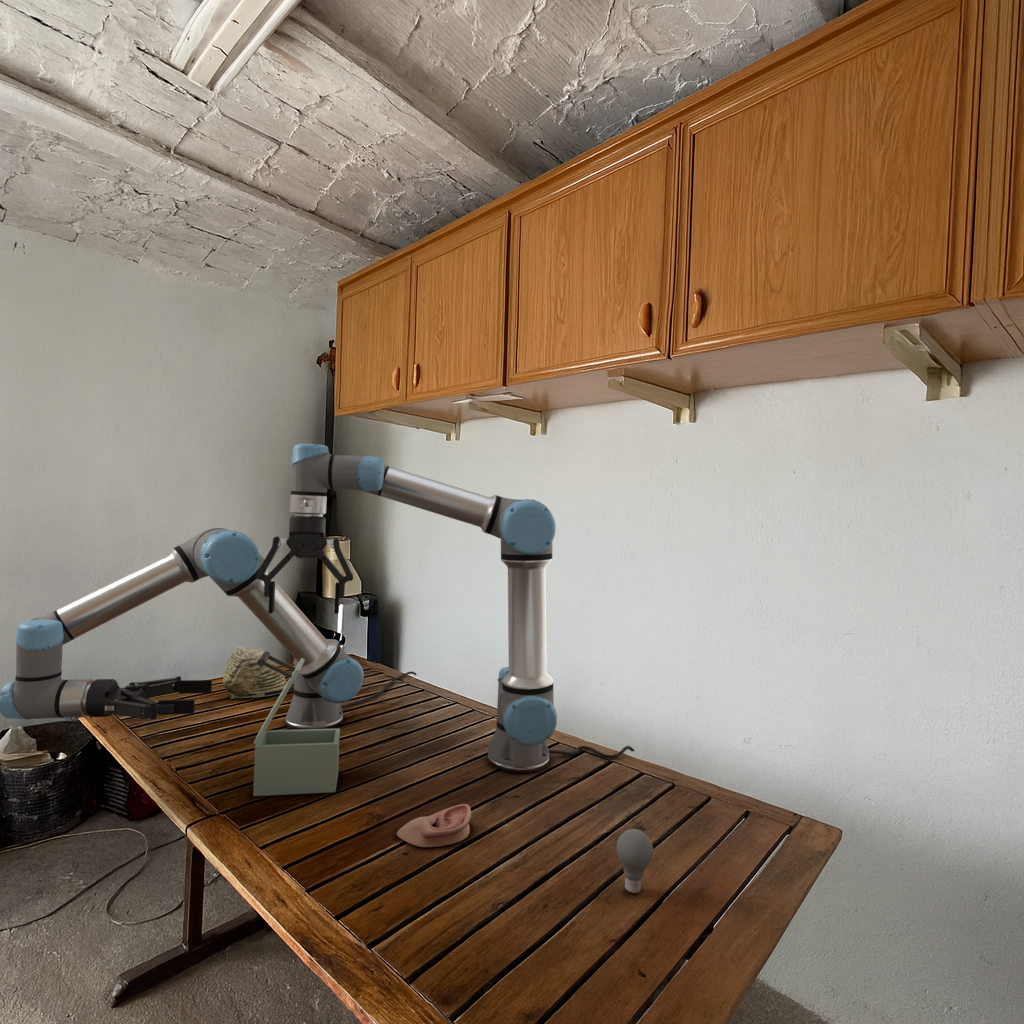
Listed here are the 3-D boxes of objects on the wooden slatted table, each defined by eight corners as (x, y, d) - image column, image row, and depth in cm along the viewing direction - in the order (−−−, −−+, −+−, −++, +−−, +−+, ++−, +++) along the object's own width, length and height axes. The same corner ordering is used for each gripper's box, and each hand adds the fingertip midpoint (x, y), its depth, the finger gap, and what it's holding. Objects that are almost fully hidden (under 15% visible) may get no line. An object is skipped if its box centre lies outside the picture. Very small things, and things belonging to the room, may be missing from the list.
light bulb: (610, 879, 108) (613, 822, 108) (644, 879, 109) (647, 822, 109) (619, 902, 102) (622, 840, 102) (655, 901, 103) (658, 840, 103)
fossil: (218, 695, 195) (220, 647, 195) (278, 685, 208) (279, 640, 207) (228, 703, 189) (230, 653, 188) (289, 692, 201) (290, 645, 201)
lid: (305, 659, 143) (269, 642, 141) (300, 670, 134) (262, 652, 132) (264, 729, 142) (228, 712, 140) (257, 745, 133) (218, 727, 131)
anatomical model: (391, 821, 117) (413, 793, 128) (390, 842, 117) (412, 813, 128) (460, 832, 114) (476, 802, 125) (459, 853, 114) (475, 822, 126)
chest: (338, 773, 145) (340, 728, 145) (335, 792, 136) (337, 743, 136) (261, 776, 142) (263, 730, 142) (253, 796, 133) (255, 746, 132)
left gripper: (115, 697, 142) (217, 695, 147) (61, 739, 118) (184, 735, 122) (116, 664, 142) (218, 663, 147) (62, 699, 118) (186, 696, 122)
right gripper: (243, 513, 132) (239, 615, 132) (366, 518, 137) (362, 615, 137) (250, 512, 139) (247, 608, 139) (366, 516, 144) (363, 609, 144)
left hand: (203, 695), depth 134 cm, fingers open, 13 cm apart
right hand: (304, 612), depth 138 cm, fingers open, 13 cm apart
